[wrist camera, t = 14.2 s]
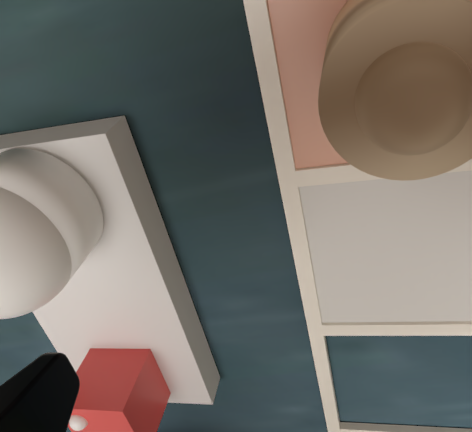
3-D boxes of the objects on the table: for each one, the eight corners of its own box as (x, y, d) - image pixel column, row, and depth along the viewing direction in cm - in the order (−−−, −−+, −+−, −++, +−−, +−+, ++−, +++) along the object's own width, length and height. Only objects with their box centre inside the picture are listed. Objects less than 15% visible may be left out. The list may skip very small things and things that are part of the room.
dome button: (137, 230, 24) (57, 352, 17) (41, 237, 25) (-65, 351, 19) (93, 121, 20) (-25, 220, 14) (-13, 138, 22) (-162, 233, 16)
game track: (501, 438, 27) (503, 446, 27) (329, 428, 30) (328, 435, 30) (584, -176, 12) (593, -179, 12) (230, -79, 15) (227, -79, 15)
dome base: (220, 377, 29) (192, 479, 24) (99, 374, 32) (51, 466, 27) (124, 115, 20) (46, 188, 15) (-34, 140, 23) (-149, 210, 18)
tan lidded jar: (470, 107, 17) (524, 200, 12) (333, 124, 18) (326, 214, 13) (478, -44, 14) (553, -13, 9) (318, -10, 16) (301, 33, 10)
